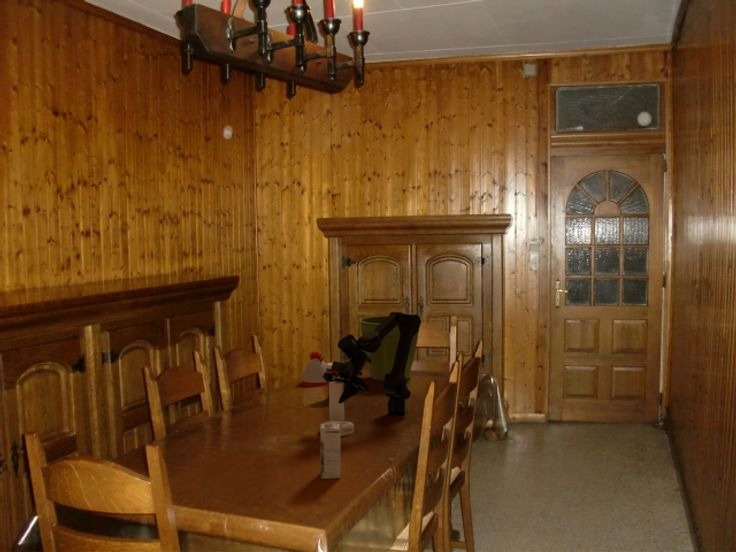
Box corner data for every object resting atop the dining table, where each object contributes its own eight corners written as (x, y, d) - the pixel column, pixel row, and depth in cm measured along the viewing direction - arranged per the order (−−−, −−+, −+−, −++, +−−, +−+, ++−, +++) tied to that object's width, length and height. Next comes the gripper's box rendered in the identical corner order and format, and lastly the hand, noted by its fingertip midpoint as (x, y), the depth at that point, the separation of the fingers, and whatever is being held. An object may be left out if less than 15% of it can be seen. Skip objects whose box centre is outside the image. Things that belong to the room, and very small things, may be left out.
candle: (344, 417, 243) (343, 378, 242) (344, 421, 238) (343, 381, 237) (329, 417, 243) (328, 378, 242) (329, 421, 238) (328, 382, 237)
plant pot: (364, 371, 347) (363, 315, 345) (423, 372, 343) (422, 315, 341) (355, 384, 317) (354, 323, 316) (419, 385, 313) (418, 323, 312)
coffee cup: (342, 401, 285) (342, 365, 284) (323, 400, 286) (323, 365, 286) (347, 396, 293) (346, 362, 292) (328, 396, 295) (328, 361, 294)
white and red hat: (315, 378, 332) (314, 348, 331) (337, 382, 323) (337, 350, 323) (296, 384, 320) (295, 352, 319) (318, 387, 312) (318, 355, 311)
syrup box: (320, 472, 199) (319, 423, 198) (340, 471, 199) (339, 422, 199) (320, 479, 193) (319, 429, 192) (341, 478, 194) (340, 428, 193)
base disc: (358, 428, 244) (358, 421, 244) (347, 437, 233) (347, 431, 233) (327, 425, 248) (327, 419, 248) (314, 435, 237) (314, 428, 237)
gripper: (325, 349, 248) (303, 384, 241) (362, 355, 235) (340, 392, 228) (341, 367, 254) (320, 402, 247) (378, 374, 242) (357, 411, 234)
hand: (333, 401), depth 239 cm, fingers closed on candle, 5 cm apart
